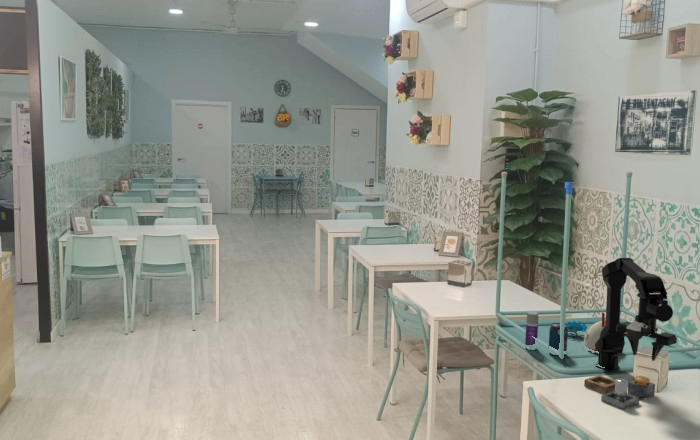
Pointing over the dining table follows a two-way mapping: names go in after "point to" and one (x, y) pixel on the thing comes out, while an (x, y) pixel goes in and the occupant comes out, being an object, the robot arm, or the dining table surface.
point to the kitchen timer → (594, 333)
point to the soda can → (557, 336)
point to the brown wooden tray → (600, 384)
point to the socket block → (631, 395)
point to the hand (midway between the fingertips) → (643, 357)
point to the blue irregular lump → (575, 326)
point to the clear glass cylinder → (620, 389)
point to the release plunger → (642, 380)
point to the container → (531, 328)
